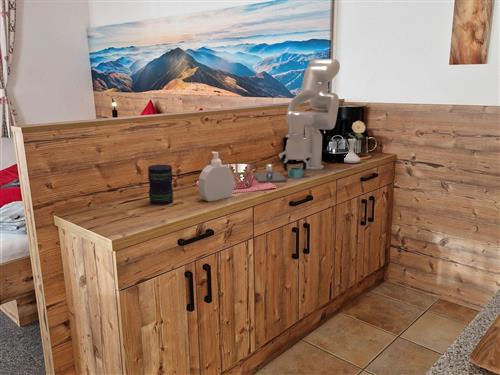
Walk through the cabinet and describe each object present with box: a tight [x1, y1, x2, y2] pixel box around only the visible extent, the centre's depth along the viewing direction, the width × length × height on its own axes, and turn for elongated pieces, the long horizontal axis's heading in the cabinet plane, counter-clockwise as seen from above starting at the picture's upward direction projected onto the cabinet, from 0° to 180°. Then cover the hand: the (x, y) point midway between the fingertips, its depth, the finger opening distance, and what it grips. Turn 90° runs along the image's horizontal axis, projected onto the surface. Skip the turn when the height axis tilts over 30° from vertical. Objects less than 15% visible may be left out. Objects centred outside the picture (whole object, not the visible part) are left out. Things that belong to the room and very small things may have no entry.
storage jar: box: [147, 164, 174, 206], centre depth 191 cm, size 10×10×15 cm
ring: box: [287, 166, 304, 179], centre depth 241 cm, size 7×7×4 cm
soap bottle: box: [197, 151, 235, 202], centre depth 197 cm, size 16×5×20 cm, turn 130°
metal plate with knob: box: [254, 163, 288, 184], centre depth 236 cm, size 20×14×7 cm
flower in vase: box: [344, 120, 367, 164], centre depth 275 cm, size 13×11×25 cm
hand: (294, 170), depth 240 cm, fingers open, 9 cm apart
